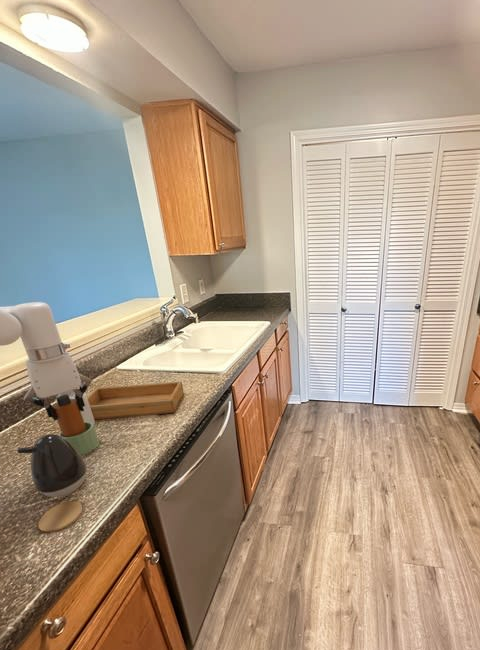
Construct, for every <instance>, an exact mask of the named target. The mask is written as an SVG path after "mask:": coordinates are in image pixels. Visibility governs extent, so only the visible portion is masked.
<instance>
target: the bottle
mask: <svg viewBox="0 0 480 650" xmlns="http://www.w3.org/2000/svg"><path fill="white" fill-rule="evenodd" d="M58 396H59V395H58ZM58 396H56V398H55V401H56V400H57V403H56V402H55V403H53V405H52V407H53V409H54V411H55V414H56V417H57V420H56V421H57V424H58V427H59V430H60V431H61V432H62V435H63V437H73V436H77V435H79V434H82V433H84V432H86V431H87V429H86V426H85V423H84V420H83V417H82V414H81V411H80V409H79V406H78V403H77V400H76V399H70V398H69V396H68V395H61V396H59V397H58Z"/></svg>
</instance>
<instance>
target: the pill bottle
mask: <svg viewBox="0 0 480 650" xmlns="http://www.w3.org/2000/svg"><path fill="white" fill-rule="evenodd" d="M79 388H80V387H79ZM79 388H78V389H79ZM61 395H68V396H69V398H70V399H75V393H74V391H73V390H71V391H68V392H64V393H61V394H58V395H57V397H59V396H61ZM87 396H88V395H87V394H86V392H85V393H84V394H83V397H82V398H83V401H84V404H85V406H84V407H83V409H84V411H81V414H82V417H83V420H84V422H87V421H88V422H92V423H93V425H94V426H95V424H96V421H95V420H96V419H94V417H93V414H92V411H91V408H90V405H89V402H88V399H87ZM55 403H57V400H56V399H55Z"/></svg>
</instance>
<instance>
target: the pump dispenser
mask: <svg viewBox="0 0 480 650" xmlns="http://www.w3.org/2000/svg"><path fill="white" fill-rule="evenodd" d="M16 451H17V454H31V456H30V474H31V478H32V482H33V485H34V488H35V489H36V491H37V492H40V493H41V494H43V495H44V496H46V497H49V498H62V497H65V496H66V497H67V496H68V495H70V494H72V493H74V492H75V491H77V490H78V489H79V488H80V487H81V486H82V484H84V481H85V479H86V476H87V464H86V462H85V461H84V459H83V457H82V455H80V454H79V453H78V452H77V450H76V449H75V448H74V447H73V446H72V445H71V444H70V443H69V442H67V441H66V440H65V439H63V438H62V437H60V436H58V434H54V433H51V434H50V433H49V434H44V435H42V436H41V437H39V438H38V439H36V441H35V442H34V444H33V446H26V447H19V448H17V450H16Z"/></svg>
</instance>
